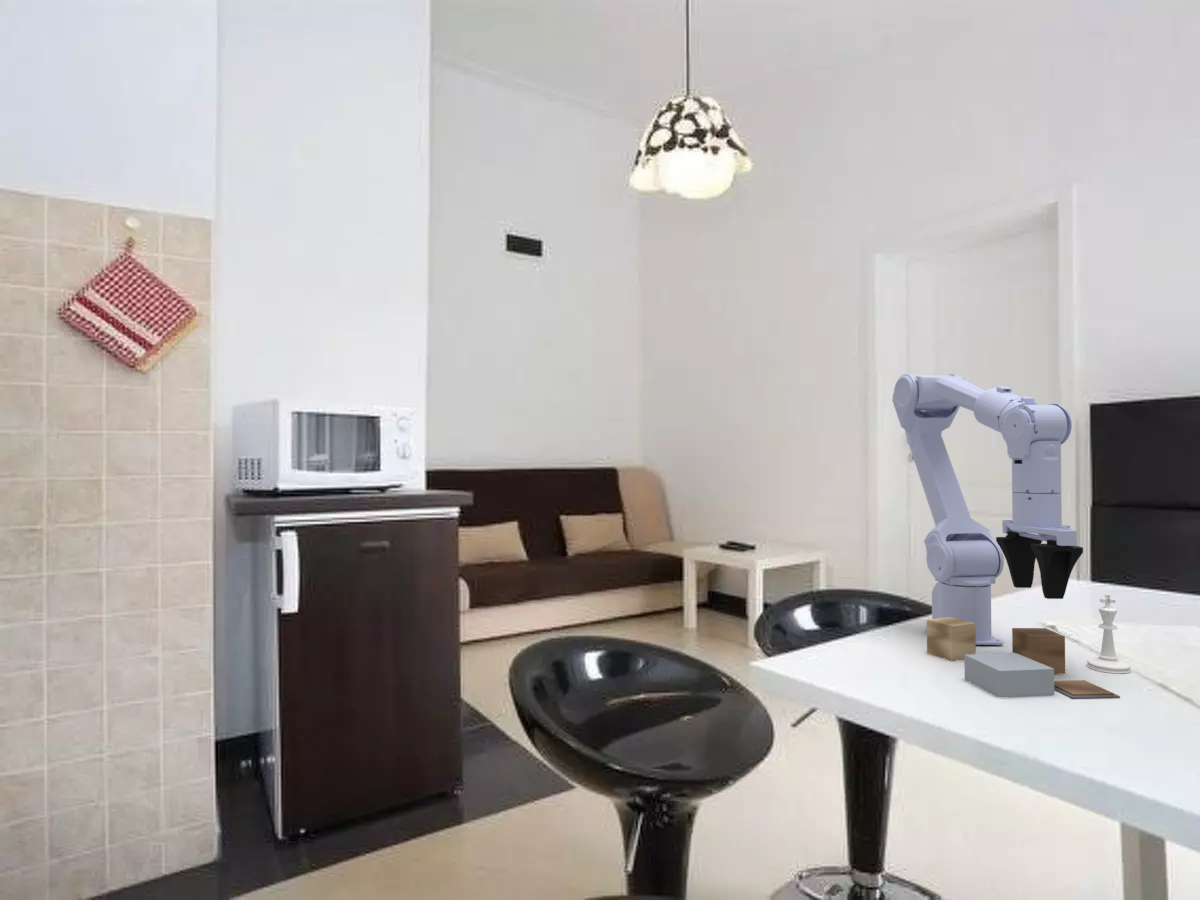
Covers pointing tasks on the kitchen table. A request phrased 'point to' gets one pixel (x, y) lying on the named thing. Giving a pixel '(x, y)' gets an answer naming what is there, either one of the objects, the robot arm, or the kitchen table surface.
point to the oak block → (951, 638)
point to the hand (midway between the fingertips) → (1037, 592)
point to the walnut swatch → (1082, 689)
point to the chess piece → (1108, 643)
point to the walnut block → (1040, 646)
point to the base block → (1009, 675)
